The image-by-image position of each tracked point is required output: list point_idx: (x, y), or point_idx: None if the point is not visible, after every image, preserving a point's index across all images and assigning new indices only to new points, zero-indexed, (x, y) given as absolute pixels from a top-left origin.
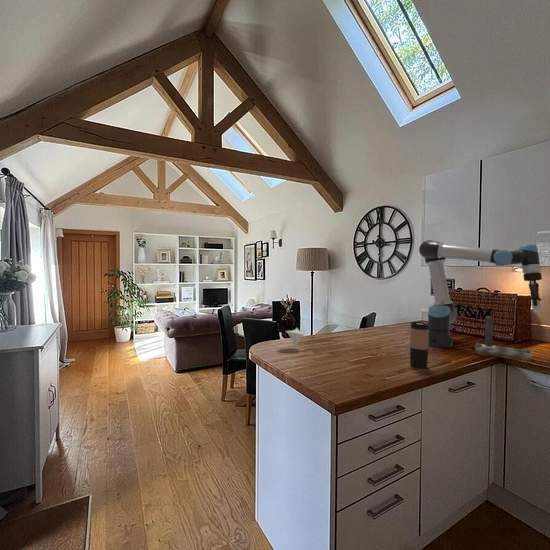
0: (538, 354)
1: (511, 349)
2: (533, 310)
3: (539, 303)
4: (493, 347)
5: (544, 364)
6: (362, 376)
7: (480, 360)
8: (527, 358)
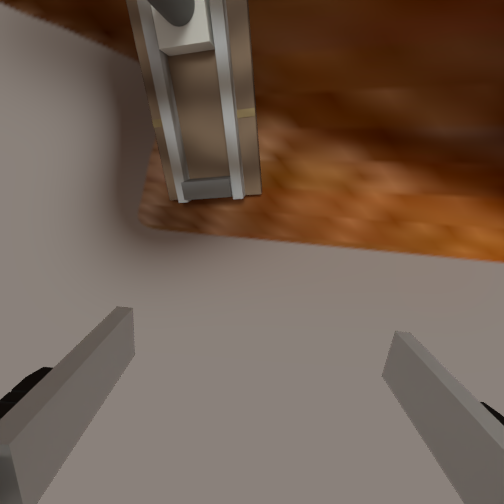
0: (330, 226)
1: (225, 127)
2: (106, 323)
3: (459, 481)
4: (157, 38)
5: (166, 228)
6: None
7: (17, 6)
8: (167, 184)
